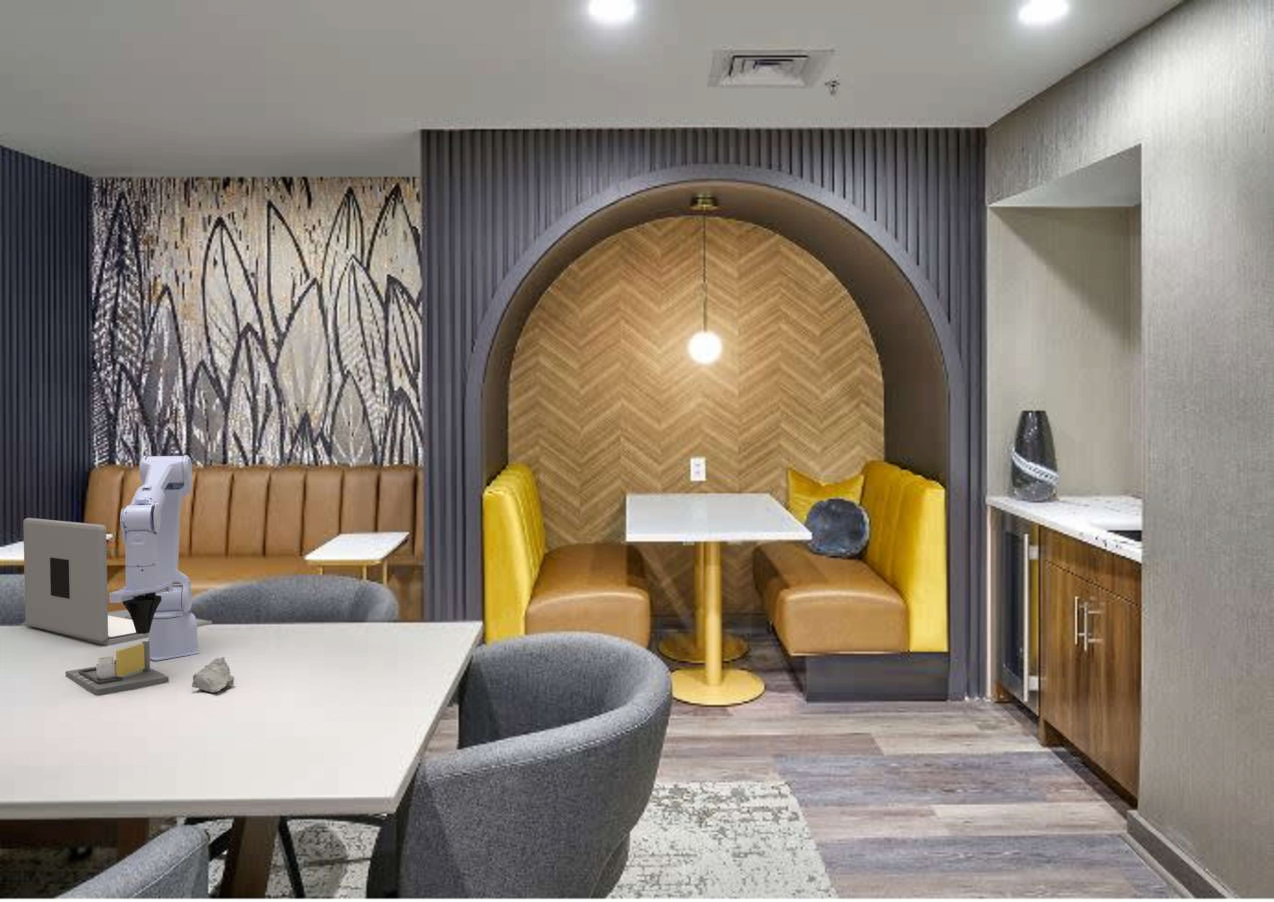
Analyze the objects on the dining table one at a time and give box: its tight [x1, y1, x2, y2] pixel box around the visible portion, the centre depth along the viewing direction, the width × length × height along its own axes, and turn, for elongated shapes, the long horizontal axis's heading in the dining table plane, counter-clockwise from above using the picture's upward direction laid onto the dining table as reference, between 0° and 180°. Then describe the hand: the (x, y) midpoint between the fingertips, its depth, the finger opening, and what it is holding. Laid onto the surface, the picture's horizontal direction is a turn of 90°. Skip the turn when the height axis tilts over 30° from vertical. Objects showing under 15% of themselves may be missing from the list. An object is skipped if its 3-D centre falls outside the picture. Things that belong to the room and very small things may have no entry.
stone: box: [191, 656, 235, 693], centre depth 193 cm, size 6×12×4 cm, turn 177°
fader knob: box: [95, 656, 116, 681], centre depth 193 cm, size 3×2×4 cm
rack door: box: [113, 643, 145, 677], centre depth 196 cm, size 2×7×5 cm, turn 166°
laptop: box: [22, 517, 213, 646], centre depth 245 cm, size 36×28×29 cm
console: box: [65, 640, 170, 697], centre depth 198 cm, size 13×20×7 cm, turn 45°
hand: (142, 633), depth 196 cm, fingers closed
